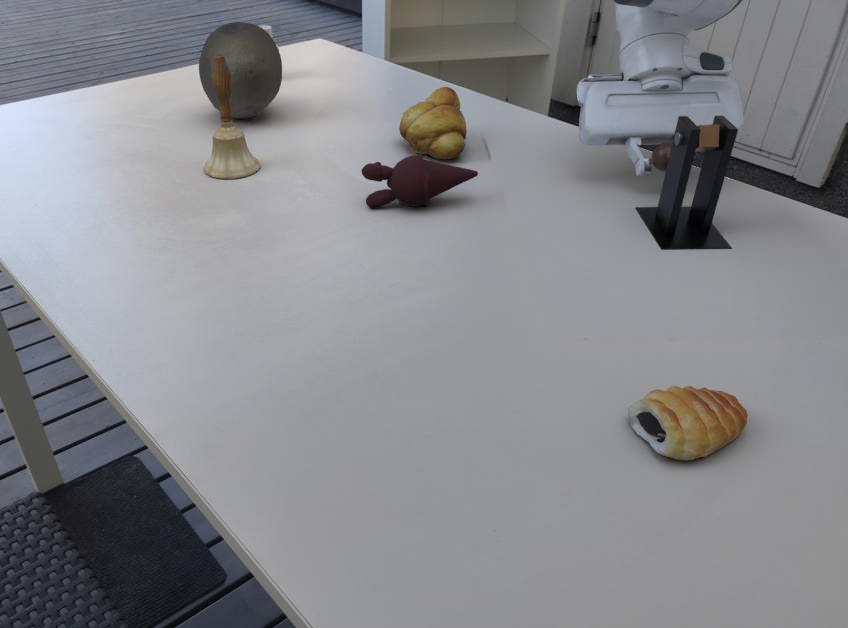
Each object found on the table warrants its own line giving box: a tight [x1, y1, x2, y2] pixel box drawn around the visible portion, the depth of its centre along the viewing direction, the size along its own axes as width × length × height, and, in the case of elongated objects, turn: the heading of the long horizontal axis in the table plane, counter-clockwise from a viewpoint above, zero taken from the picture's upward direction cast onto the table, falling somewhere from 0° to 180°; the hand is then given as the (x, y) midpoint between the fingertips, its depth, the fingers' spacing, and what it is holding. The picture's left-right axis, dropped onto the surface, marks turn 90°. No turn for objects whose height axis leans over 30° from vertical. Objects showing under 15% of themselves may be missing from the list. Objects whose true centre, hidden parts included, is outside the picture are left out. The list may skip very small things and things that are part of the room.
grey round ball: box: [198, 21, 283, 120], centre depth 123 cm, size 14×14×15 cm
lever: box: [650, 125, 719, 173], centre depth 88 cm, size 14×4×4 cm
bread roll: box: [398, 86, 468, 160], centre depth 111 cm, size 13×10×8 cm
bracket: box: [634, 116, 738, 251], centre depth 86 cm, size 11×8×14 cm
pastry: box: [627, 385, 748, 461], centre depth 61 cm, size 9×7×4 cm
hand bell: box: [203, 54, 262, 180], centre depth 105 cm, size 8×8×16 cm
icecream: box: [361, 152, 479, 209], centre depth 97 cm, size 7×7×15 cm
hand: (663, 173), depth 95 cm, fingers open, 3 cm apart
